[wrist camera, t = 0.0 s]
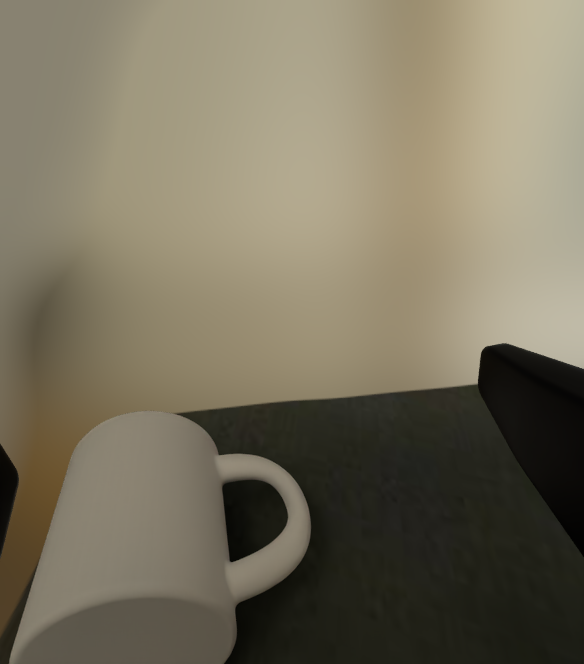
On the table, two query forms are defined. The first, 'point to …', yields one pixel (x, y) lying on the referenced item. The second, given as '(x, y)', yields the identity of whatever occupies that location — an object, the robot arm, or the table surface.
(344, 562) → the table surface
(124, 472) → the mug
